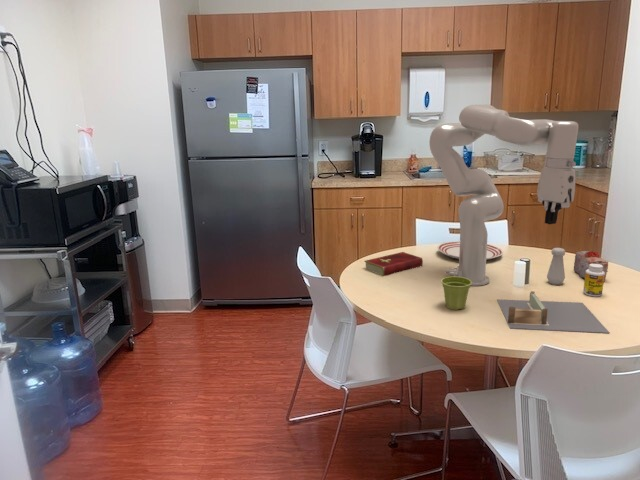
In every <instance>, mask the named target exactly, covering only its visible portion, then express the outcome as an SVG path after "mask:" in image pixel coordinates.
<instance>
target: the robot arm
mask: <svg viewBox="0 0 640 480" xmlns="http://www.w3.org/2000/svg"><path fill="white" fill-rule="evenodd" d="M458 120H459V122H450V123H443V124H442V123H441V124H440V125H437V126H436V127H435V128H433V129H432V131H431V133H430V137H429V150H430V152H431V155H432V157H433V159H434V160H435V162H436V163H437V165H438V166H439V168H440V170H441V173H442V174H443V177H444V178H445V180H446V182H447V184H448V186H449V188H450V190H451V191H452V193H453V195H454V196H457V197H467V198H464V199H463V200H462V201H461V202H460V203H459V205H458V209H457V211H458V219H459V226H460V227H459V230H460V231H459V241H460V253H459V260H458V265H457V267H456V268H455V267H454V269H452V268H446V269H445V275H449V276H454V277H464V278H467V279H469V280H471V281H472V284H471V285H470V287H473V286H475V287H478V286H484V285H488V284H489V283H490V277H489V276H488V275H486V273H487V272H486V270H487V269H486V268H487V260H486V256H487V244H488V230H487V227H486V223H485V222H487V221H492V220H494V219H498V218H499V217H501V215H502V214H503V212H504V208H505V207H504V201H503V198H502V196H501V194H500V193H499V191H498V189H497V187H496V185H495V183H494V181H493V180H492V178H491V176H490V175H489V174H488V172H486V171H485V170H483V169H481V168H472V169H470V168H468V166H467V165H466V163H465V160H464V158H463V157H462V155H460V154H459V152H458V151H456V150H455V149H454V148H453V147H464V146H468V145H471V144H472V143H474V142H476V141H477V140H479V139H480V138H482V137H483V136H484V135H489V136H492V137H496V138H497V139H499V140H500V141H502V142H506V143H511V144H514V145H519V146H522V147H523V146H527V147H529V146H536V145H537V146H538V145H546V153H545V160H544V166H543V167H542V169H541V172H540V176H539V179H538V183H537V189H536V190H537V191H536V197H537V202H539V203H540V204H542V205H543V208H544V210H545V216H544V224H546V225H554V224H555V225H556V224H557V220H558V215H559V212H560V211H561V210H563V209H566V208H570V206H571V203H573V202H574V199H575V195H576V194H575V193H576V170H575V169H573V167H574V168H575V167H576V164H577V163H576V161H574V159H575V152H576V147H577V140H578V133H579V123H578V122H577V121H572V120H552V119H539V118H538V119H522V118H516V117H512V116H510V114H509V112H508V111H507V110H505V109H504V110H503V109H498V108H496V107H495V106H493V105H491V104H471V105H470V104H469V105H467V106H465V107H464V108H463V109H462V110H461V111H460V112H459V115H458Z"/></svg>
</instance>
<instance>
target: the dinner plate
mask: <svg viewBox="0 0 640 480" xmlns="http://www.w3.org/2000/svg"><path fill="white" fill-rule="evenodd" d="M437 250H438V251H439V252H440V253H441V254H443V255H445V256H447V257H450V258H452V259H454V258H455V260H458V261H459V253H460V240H458V241H447V242H443V243H440V244H439V245H438V246H437ZM503 254H504V251H503V250H502V249H501V248H499V247H498V246H496V245H493V244H489V243H487V256H486V261H487V260H491V259H495V258H498V257H500V256H502V255H503Z"/></svg>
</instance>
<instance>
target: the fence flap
mask: <svg viewBox="0 0 640 480" xmlns="http://www.w3.org/2000/svg"><path fill="white" fill-rule="evenodd" d="M528 301H529V303H530V305H531V306H532V308H533V309H534V310H541V321H542V315H543V309H544V308H545V307H544V306H543V304H542V303H541V301H542V300H540V299H539V297H538V296H537V294H536V293H535V291H530V292H529V299H528Z"/></svg>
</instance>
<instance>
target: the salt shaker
mask: <svg viewBox="0 0 640 480" xmlns="http://www.w3.org/2000/svg"><path fill="white" fill-rule="evenodd" d="M550 252H551V255H552V259H551V262H550V264H549V268H548V271H547V274H546V279H547V280H548V283H549V284H551V285H553V286H560V285H562V284H563V283H564V281H565V279H566V275H565V265H564V256H565V254H566V250H565V249H564V248H561V247H554V248H552V249H551V251H550Z"/></svg>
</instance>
